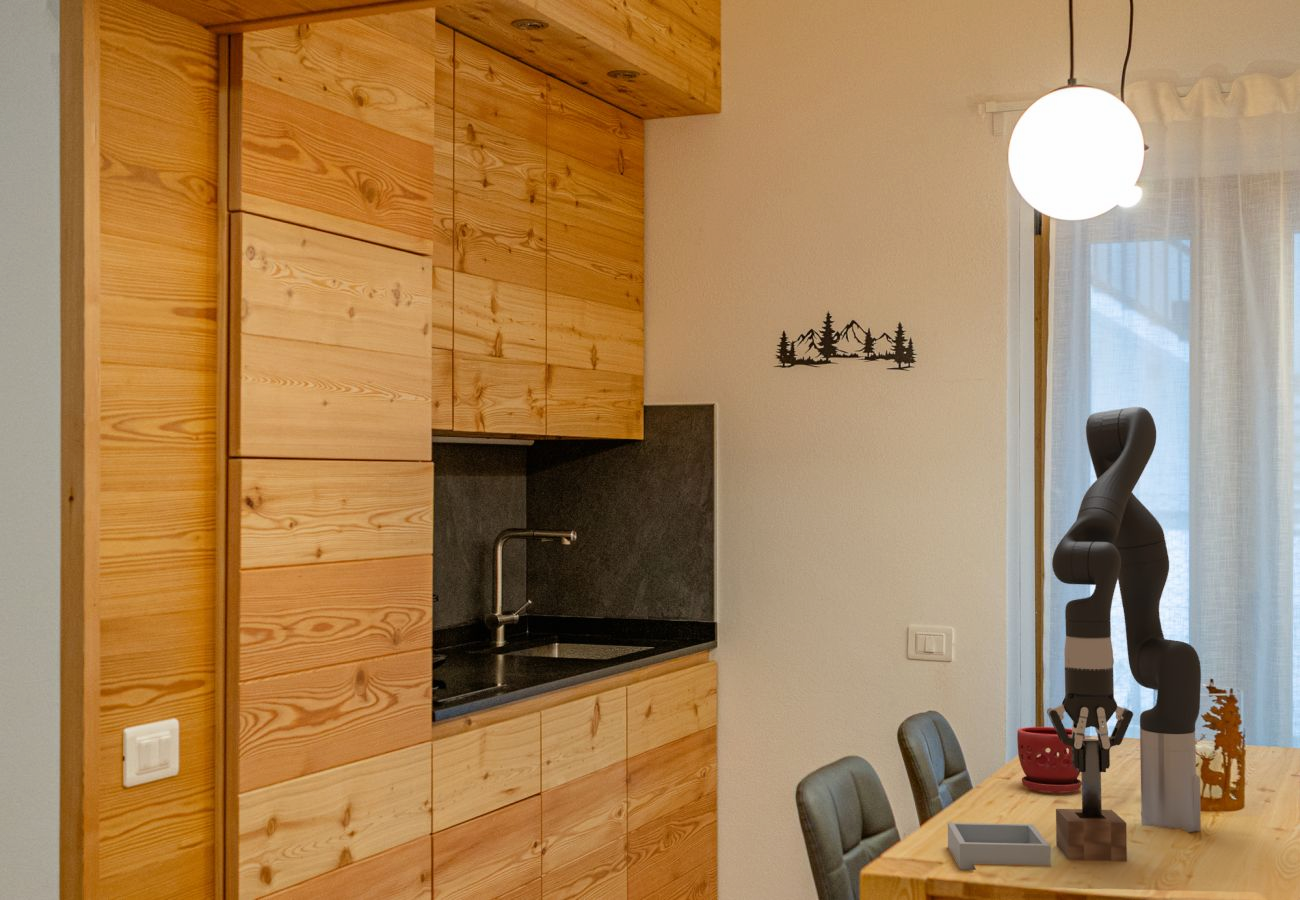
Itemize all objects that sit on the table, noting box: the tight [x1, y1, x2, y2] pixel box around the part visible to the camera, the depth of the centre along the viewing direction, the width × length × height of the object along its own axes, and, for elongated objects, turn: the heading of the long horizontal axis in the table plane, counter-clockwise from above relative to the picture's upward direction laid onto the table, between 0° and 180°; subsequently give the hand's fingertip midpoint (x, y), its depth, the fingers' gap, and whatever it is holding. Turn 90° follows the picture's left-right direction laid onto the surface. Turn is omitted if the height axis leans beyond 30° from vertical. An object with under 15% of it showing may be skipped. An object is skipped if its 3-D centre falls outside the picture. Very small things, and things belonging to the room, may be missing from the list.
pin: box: [1080, 738, 1103, 817], centre depth 216 cm, size 3×3×12 cm
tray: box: [947, 822, 1052, 871], centre depth 215 cm, size 14×14×4 cm
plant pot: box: [1016, 726, 1086, 795], centre depth 269 cm, size 13×13×12 cm
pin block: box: [1055, 808, 1128, 862], centre depth 215 cm, size 9×9×7 cm
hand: (1090, 770), depth 216 cm, fingers closed on pin, 3 cm apart
